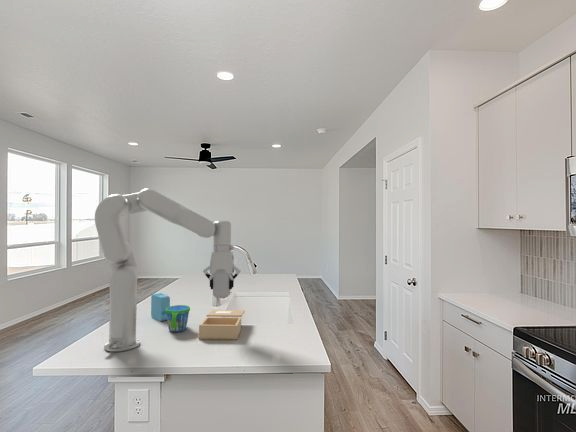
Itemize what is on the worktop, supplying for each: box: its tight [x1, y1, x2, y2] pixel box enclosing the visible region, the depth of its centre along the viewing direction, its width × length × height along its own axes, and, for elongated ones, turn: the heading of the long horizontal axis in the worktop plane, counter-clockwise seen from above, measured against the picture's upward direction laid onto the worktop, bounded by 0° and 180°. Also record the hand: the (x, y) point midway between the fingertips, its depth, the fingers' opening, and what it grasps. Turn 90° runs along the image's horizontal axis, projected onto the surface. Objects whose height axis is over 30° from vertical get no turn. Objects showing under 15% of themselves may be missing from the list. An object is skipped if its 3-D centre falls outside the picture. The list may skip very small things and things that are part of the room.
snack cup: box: [166, 304, 191, 333], centre depth 149 cm, size 16×10×10 cm
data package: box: [150, 292, 171, 322], centre depth 167 cm, size 12×4×12 cm, turn 46°
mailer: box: [198, 316, 242, 341], centre depth 143 cm, size 12×16×6 cm
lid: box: [206, 309, 246, 318], centre depth 156 cm, size 12×16×1 cm
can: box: [212, 270, 231, 299], centre depth 144 cm, size 8×8×12 cm
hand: (221, 288), depth 144 cm, fingers closed on can, 7 cm apart
